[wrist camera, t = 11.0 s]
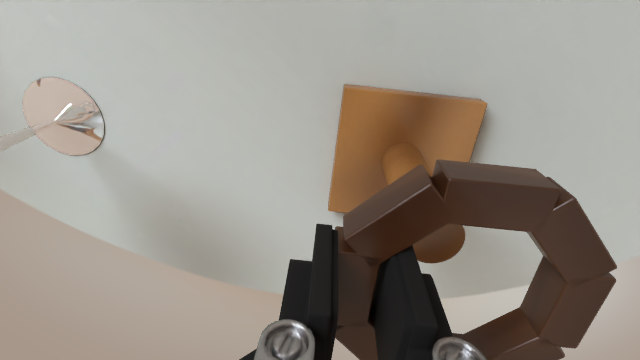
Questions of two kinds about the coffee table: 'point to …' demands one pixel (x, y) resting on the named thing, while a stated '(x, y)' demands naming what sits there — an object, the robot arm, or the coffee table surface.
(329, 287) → the robot arm
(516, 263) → the coffee table surface
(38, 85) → the wineglass
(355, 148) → the wooden peg stand
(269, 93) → the coffee table surface
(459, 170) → the ring
